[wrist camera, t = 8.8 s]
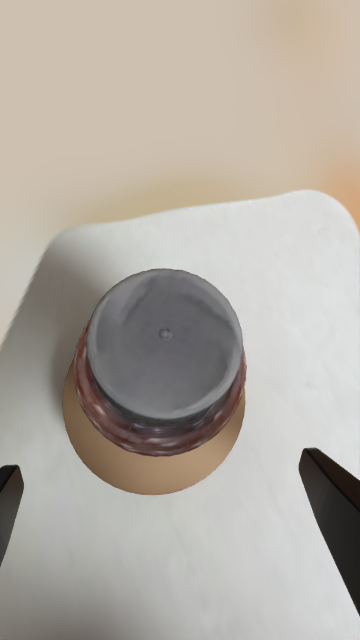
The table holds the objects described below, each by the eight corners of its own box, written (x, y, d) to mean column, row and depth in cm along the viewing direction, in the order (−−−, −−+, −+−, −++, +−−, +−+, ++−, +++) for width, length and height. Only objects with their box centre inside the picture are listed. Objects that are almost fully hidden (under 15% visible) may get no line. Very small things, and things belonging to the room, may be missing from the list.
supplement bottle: (94, 435, 17) (-8, 435, 6) (121, 337, 19) (82, 215, 8) (197, 457, 17) (272, 493, 6) (212, 356, 19) (287, 258, 8)
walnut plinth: (203, 517, 18) (210, 530, 15) (40, 445, 18) (24, 446, 16) (253, 355, 22) (265, 345, 19) (118, 300, 22) (114, 284, 20)
